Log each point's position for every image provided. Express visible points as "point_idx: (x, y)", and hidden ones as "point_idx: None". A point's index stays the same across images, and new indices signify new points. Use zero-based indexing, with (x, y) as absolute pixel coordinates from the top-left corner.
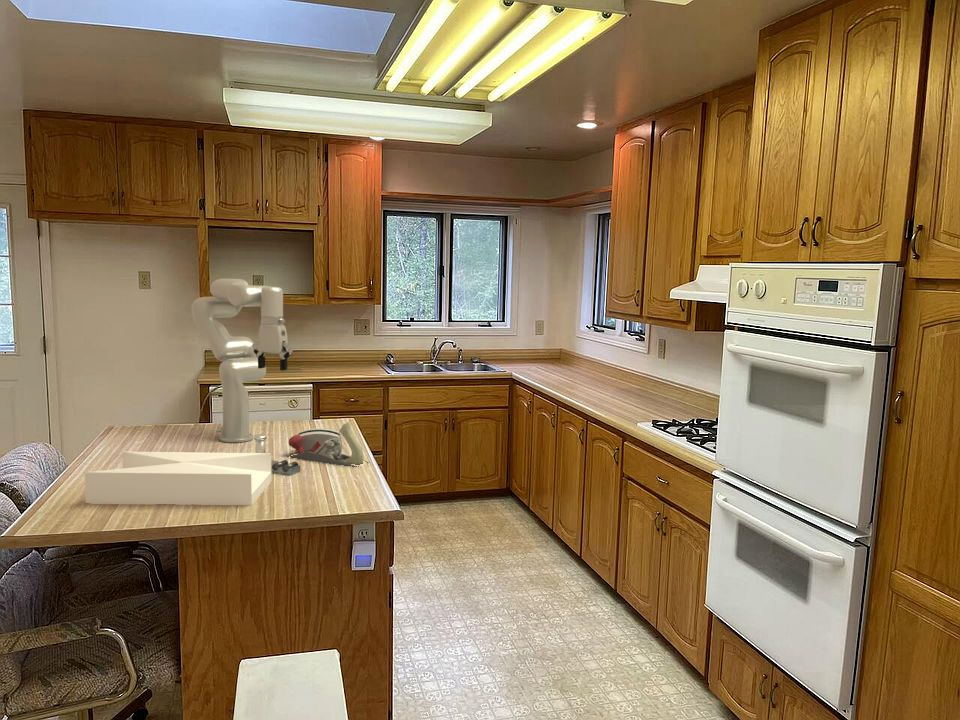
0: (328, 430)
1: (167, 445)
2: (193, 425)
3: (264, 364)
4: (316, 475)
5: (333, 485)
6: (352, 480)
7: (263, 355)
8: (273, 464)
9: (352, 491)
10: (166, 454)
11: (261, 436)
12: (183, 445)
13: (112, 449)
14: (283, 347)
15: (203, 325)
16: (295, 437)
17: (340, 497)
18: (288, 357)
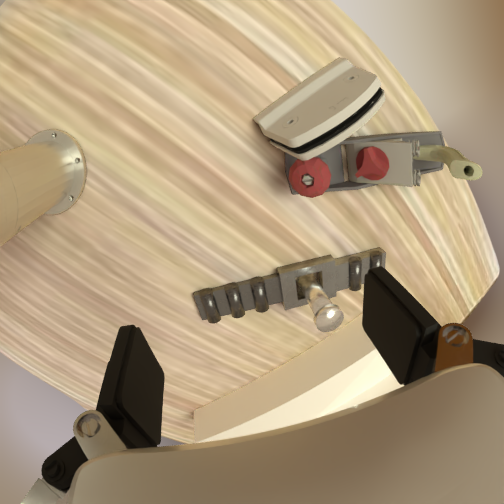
0: (368, 100)
1: (30, 298)
2: None
3: (136, 351)
4: (411, 244)
5: (445, 260)
6: (457, 227)
7: (113, 428)
8: (353, 290)
9: (467, 260)
10: (258, 425)
11: (337, 322)
12: (41, 281)
13: (25, 354)
14: (466, 445)
15: None
16: (322, 189)
17: (462, 283)
18: (468, 339)
